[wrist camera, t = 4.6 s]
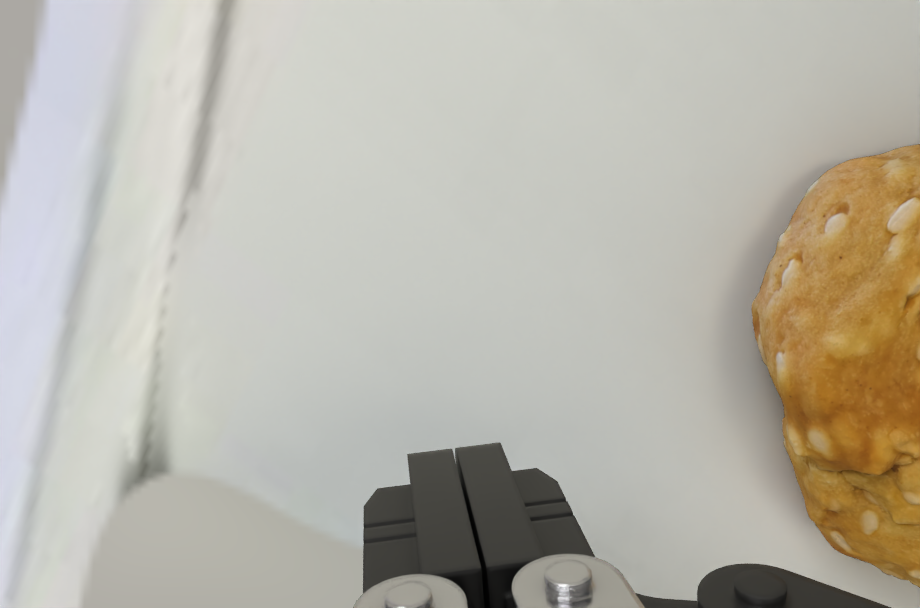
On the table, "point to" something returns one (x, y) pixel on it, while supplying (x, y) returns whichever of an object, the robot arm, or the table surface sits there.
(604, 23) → the table surface
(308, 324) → the table surface
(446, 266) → the table surface
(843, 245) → the bagel
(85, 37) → the table surface
